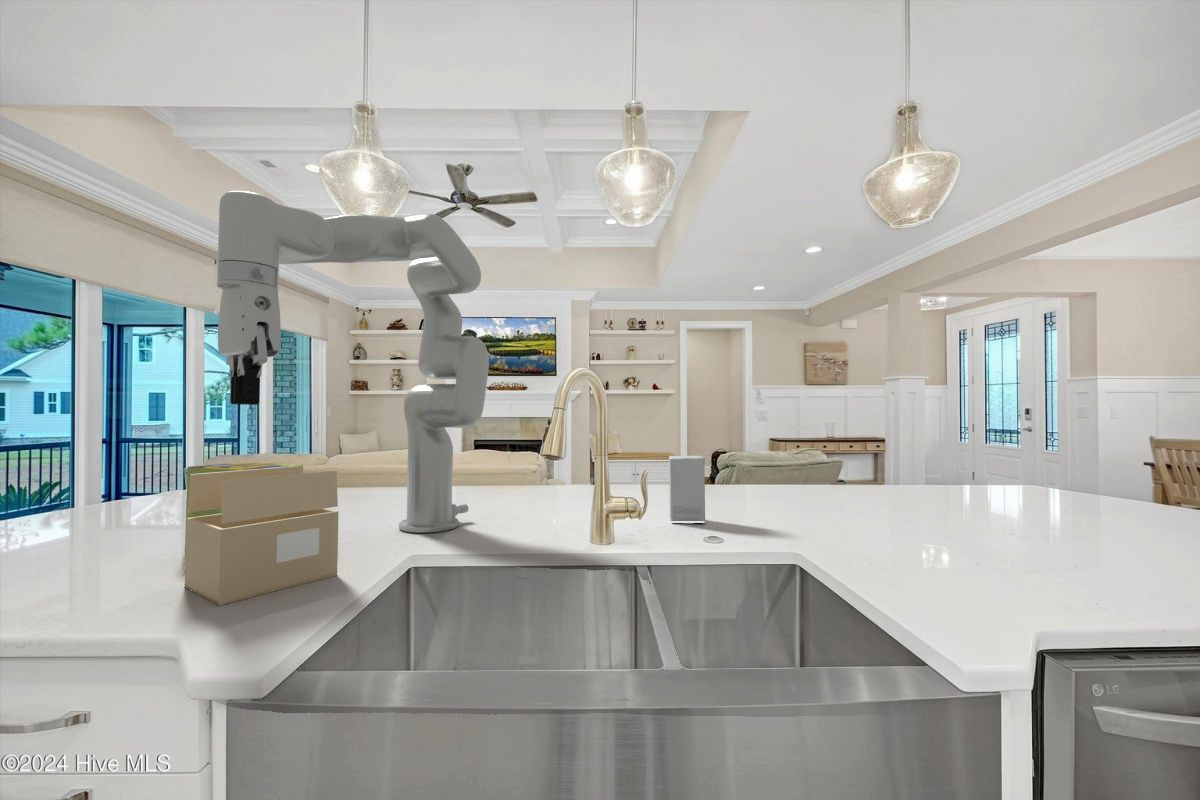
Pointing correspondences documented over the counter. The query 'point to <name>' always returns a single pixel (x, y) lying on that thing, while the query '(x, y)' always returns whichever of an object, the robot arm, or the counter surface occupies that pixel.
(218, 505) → the far flap
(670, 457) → the skincare box
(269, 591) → the carton
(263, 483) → the near flap
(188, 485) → the protein box
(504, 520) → the counter surface
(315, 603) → the counter surface
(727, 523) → the counter surface
